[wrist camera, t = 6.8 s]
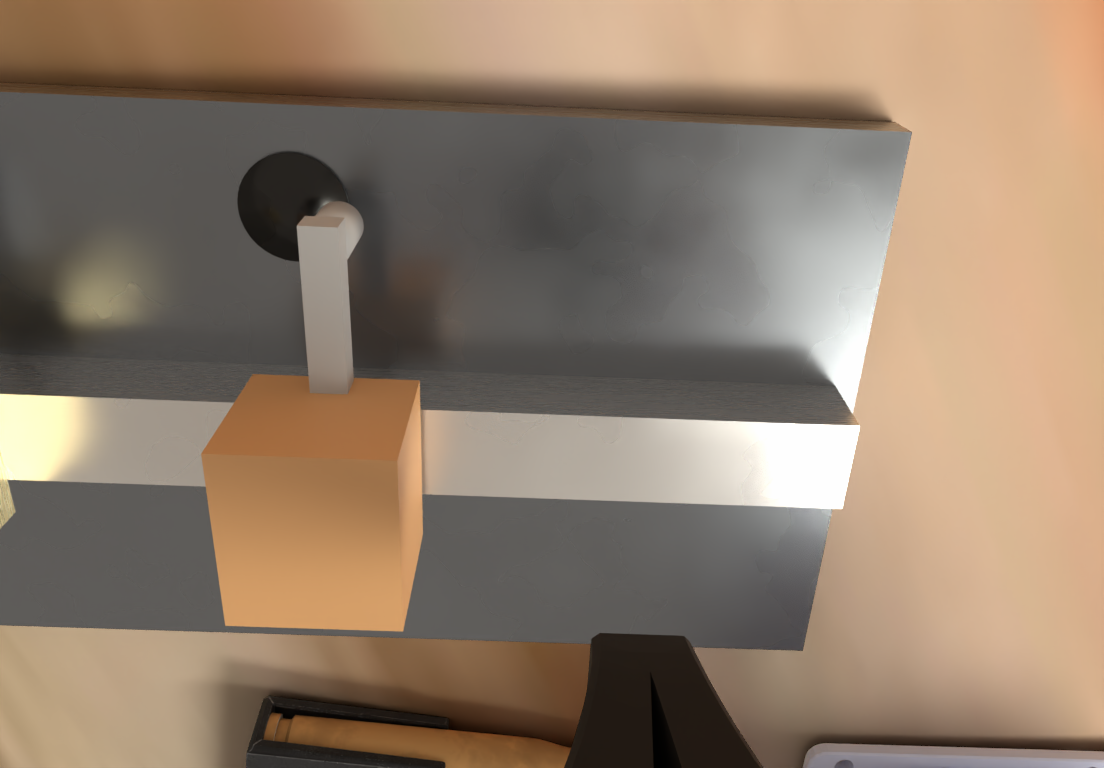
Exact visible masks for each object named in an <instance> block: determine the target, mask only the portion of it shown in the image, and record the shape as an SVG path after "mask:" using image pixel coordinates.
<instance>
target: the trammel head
mask: <svg viewBox="0 0 1104 768" xmlns="http://www.w3.org/2000/svg"><path fill="white" fill-rule="evenodd" d="M363 229H364V224H363V219H362V217H361V215H360V213H359V212H358V210H357V209H356V208H355V207H353V206H352V205H350V204H348V203H346V202H342V201H334V202H330V203H327V204H326V205H324V206H323V207H322V208H321V209H320V210H319V212H318V213H317V214H316V215H315V216H304V218H303V219H302V220H301V221H300V222H299V224H298V225H297V236H298V249H299V261H300V274H301V287H302V299H303V312H304V325H305V337H306V350H307V362H308V375H309V376H291V375H264V374H253V375H252V376H251V378H250V379H249V381H248V382H247V384H246V385H245V387H244V388H243V390H242V392H241V393H240V395H239V396H238V398H237V399H236V401H235V402H234V404H233V405H232V407H231V408H230V410H229V412H228V413H227V415H226V416H225V418H224V419H223V421H222V422H221V424H220V425H219V427H218V428H217V430H216V432H215V433H214V435H213V436H212V438H211V439H210V441H209V442H208V444H207V445H206V447H205V448H204V450H203V452H202V453H201V457H202V464H203V471H204V479H205V486H206V493H207V500H208V507H209V514H210V521H211V528H212V535H213V542H214V549H215V556H216V563H217V570H218V577H219V585H220V592H221V599H222V606H223V613H224V620H225V626H245V627H277V628H308V629H339V630H371V631H402V632H403V630H404V625H405V620H406V615H407V610H408V605H409V600H410V595H411V591H412V586H413V581H414V576H415V571H416V566H417V561H418V556H419V551H420V547H421V542H422V537H423V510H422V462H421V414H420V380H396V379H370V378H354V375H353V357H352V339H351V321H350V303H349V285H348V267H347V259H348V258H349V256H350V255H351V253H352V251H353V249H354V248H355V246H356V244H357V243H358V241H359V239H360V238H361V236H362V233H363Z"/></svg>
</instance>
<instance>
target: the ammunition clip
mask: <svg viewBox="0 0 1104 768" xmlns="http://www.w3.org/2000/svg"><path fill="white" fill-rule="evenodd" d="M448 728H449V720H448V718H444V717H436V716H427V715H419V714H411V713H403V712H395V711H387V710H379V709H370V708H362V707H354V706H346V705H338V704H330V703H322V702H313V701H305V700H297V699H289V698H281V697H273V696H268V697H267V698H265V699H263V703H262V706H261V709H260V712H259V715H258V719H257V722H256V725H255V728H254V731H253V734H252V738H251V741H250V744H249V747H248V750H247V755H246V768H564V766H565V764H566V761H567V758H568V756H569V753H570V750H571V747H564V746H561V745H558V744H554V743H551V742H548V741H544V740H541V739H536V738H528V737H518V736H508V735H497V734H487V733H477V732H466V731H456V730H448Z"/></svg>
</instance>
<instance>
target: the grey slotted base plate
mask: <svg viewBox="0 0 1104 768" xmlns="http://www.w3.org/2000/svg"><path fill="white" fill-rule="evenodd" d="M911 134H912V132H911V131H909V130H907V129H906V128H904V127H902V126H901V125H899V124H897V123H896V122H882V121H860V120H837V119H815V118H792V117H770V116H747V115H725V114H702V113H680V112H658V111H635V110H613V109H590V108H568V107H545V106H523V105H500V104H478V103H455V102H433V101H410V100H388V99H365V98H343V97H321V96H298V95H276V94H253V93H231V92H208V91H186V90H163V89H141V88H118V87H96V86H73V85H51V84H28V83H6V82H0V625H12V626H43V627H75V628H106V629H138V630H169V631H201V632H232V633H264V634H295V635H326V636H358V637H389V638H421V639H452V640H484V641H515V642H547V643H578V644H591V639H592V638H593V637H595V636H596V635H597V634H599V633H618V634H648V635H678V636H685V637H686V638H687V639H688V640H689V641H690V643H691V645H692V647H704V648H735V649H767V650H798V651H803V646H804V642H805V637H806V632H807V627H808V623H809V618H810V613H811V609H812V604H813V599H814V594H815V590H816V585H817V580H818V575H819V571H820V566H821V561H822V556H823V552H824V547H825V542H826V537H827V533H828V528H829V523H830V518H831V514H832V509H842V507H843V502H844V498H845V493H846V488H847V484H848V479H849V474H850V470H851V465H852V461H853V456H854V451H855V447H856V442H857V437H858V433H859V428H860V425H859V424H858V422H857V420H856V419H855V417H854V415H853V409H854V405H855V400H856V395H857V390H858V386H859V381H860V376H861V371H862V367H863V362H864V357H865V353H866V348H867V343H868V338H869V334H870V329H871V324H872V319H873V315H874V310H875V305H876V300H877V296H878V291H879V286H880V281H881V277H882V272H883V267H884V262H885V258H886V253H887V248H888V243H889V239H890V234H891V229H892V224H893V220H894V215H895V210H896V206H897V201H898V196H899V191H900V187H901V182H902V177H903V172H904V168H905V163H906V158H907V153H908V149H909V144H910V139H911ZM334 201H342V202H346V203H348V204H350V205H352V206H353V207H355V208H356V209H357V210H358V212H359V213H360V215H361V217H362V219H363V224H364V229H363V233H362V236H361V238H360V239H359V241H358V243H357V244H356V246H355V248H354V249H353V251H352V253H351V255H350V256H349V258H348V259H347V267H348V285H349V303H350V321H351V339H352V357H353V375H354V378H370V379H396V380H420V414H421V462H422V510H423V537H422V542H421V547H420V551H419V556H418V561H417V566H416V571H415V576H414V581H413V586H412V591H411V595H410V600H409V605H408V610H407V615H406V620H405V625H404V630H403V632H402V631H371V630H339V629H308V628H277V627H245V626H225V620H224V613H223V606H222V599H221V592H220V585H219V577H218V570H217V563H216V556H215V549H214V542H213V535H212V528H211V521H210V514H209V507H208V500H207V493H206V486H205V479H204V471H203V464H202V457H201V453H202V452H203V450H204V448H205V447H206V445H207V444H208V442H209V441H210V439H211V438H212V436H213V435H214V433H215V432H216V430H217V428H218V427H219V425H220V424H221V422H222V421H223V419H224V418H225V416H226V415H227V413H228V412H229V410H230V408H231V407H232V405H233V404H234V402H235V401H236V399H237V398H238V396H239V395H240V393H241V392H242V390H243V388H244V387H245V385H246V384H247V382H248V381H249V379H250V378H251V376H252V375H253V374H264V375H291V376H309V375H308V362H307V350H306V337H305V325H304V312H303V299H302V287H301V274H300V261H299V249H298V236H297V225H298V224H299V222H300V221H301V220H302V219H303V218H304V216H315V215H316V214H317V213H318V212H319V210H320V209H321V208H322V207H323V206H324V205H326V204H327V203H330V202H334Z"/></svg>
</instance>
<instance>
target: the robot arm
mask: <svg viewBox="0 0 1104 768" xmlns="http://www.w3.org/2000/svg"><path fill="white" fill-rule="evenodd" d="M841 760H845V761H842V762H839V761H841ZM564 768H763V766H762V765H761V764H760V762H759V761H758V759H757V758H756V756H755V755H754V753H753V751H752V750H751V748H750V747H749V745H748V744H747V742H746V741H745V739H744V738H743V736H742V734H741V733H740V731H739V730H738V728H737V727H736V725H735V724H734V722H733V720H732V719H731V717H730V715H729V714H728V712H727V710H726V709H725V707H724V705H723V703H722V702H721V700H720V698H719V696H718V695H717V693H716V691H715V689H714V688H713V686H712V684H711V682H710V680H709V679H708V677H707V675H706V673H705V671H704V669H703V667H702V665H701V663H700V661H699V659H698V657H697V655H696V653H695V651H694V649H693V647H692V645H691V643H690V641H689V640H688V639H687V638H686V637H685V636H678V635H648V634H618V633H599V634H597V635H596V636H595V637H593V638H592V639H591V648H590V661H589V673H588V686H587V693H586V697H585V702H584V706H583V710H582V713H581V716H580V720H579V723H578V727H577V730H576V734H575V737H574V741H573V744H572V747H571V750H570V753H569V756H568V758H567V761H566V764H565V766H564ZM803 768H1104V751H1073V750H1039V749H1005V748H972V747H938V746H904V745H870V744H837V743H822V744H818V745H815V746H813V747H812V748H811V749H809V750H808V752H807V754H806V756H805V760H804V764H803Z"/></svg>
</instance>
